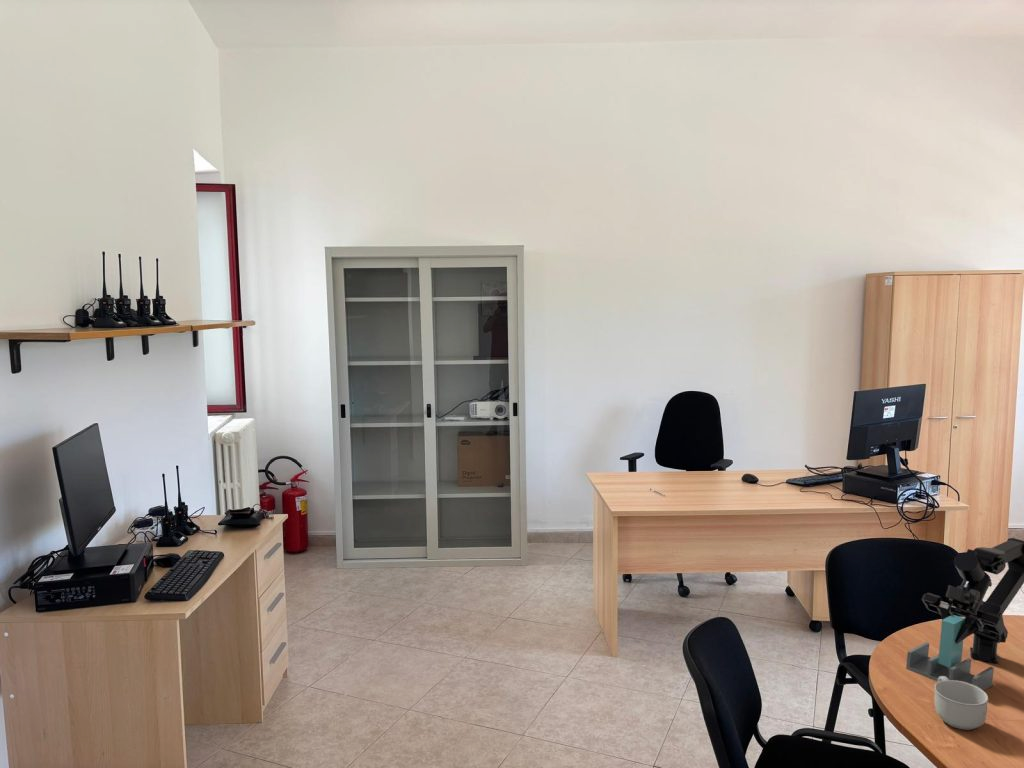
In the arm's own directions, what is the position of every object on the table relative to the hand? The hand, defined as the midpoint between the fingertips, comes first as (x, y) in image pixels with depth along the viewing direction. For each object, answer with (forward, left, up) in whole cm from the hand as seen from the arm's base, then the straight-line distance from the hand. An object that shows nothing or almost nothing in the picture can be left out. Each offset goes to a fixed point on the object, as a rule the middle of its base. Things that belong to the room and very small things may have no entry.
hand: (949, 640), depth 194 cm
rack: (-1, +1, -10) cm, 11 cm away
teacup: (+21, +2, -11) cm, 24 cm away
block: (-1, +1, -7) cm, 7 cm away
